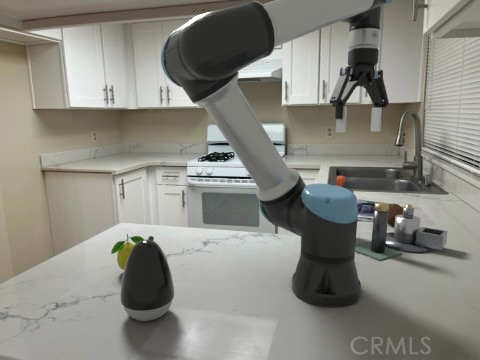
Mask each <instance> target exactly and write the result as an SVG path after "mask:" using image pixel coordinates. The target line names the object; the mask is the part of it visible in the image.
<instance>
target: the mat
mask: <svg viewBox="0 0 480 360" xmlns="http://www.w3.org/2000/svg"><path fill="white" fill-rule="evenodd" d="M355 253H359V254H361V255H363V256H366V257H369V258H371V259H374V260H375V261H378V262H380V261H384V260H387V259H390V258H393V257H397V256H400V255H402V254H403V251H398V250H394V249H391V248H388V247H385V252H384V253H375V252H372V251H371V242H369V243H366V244H362V245H358V246H355Z"/></svg>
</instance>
